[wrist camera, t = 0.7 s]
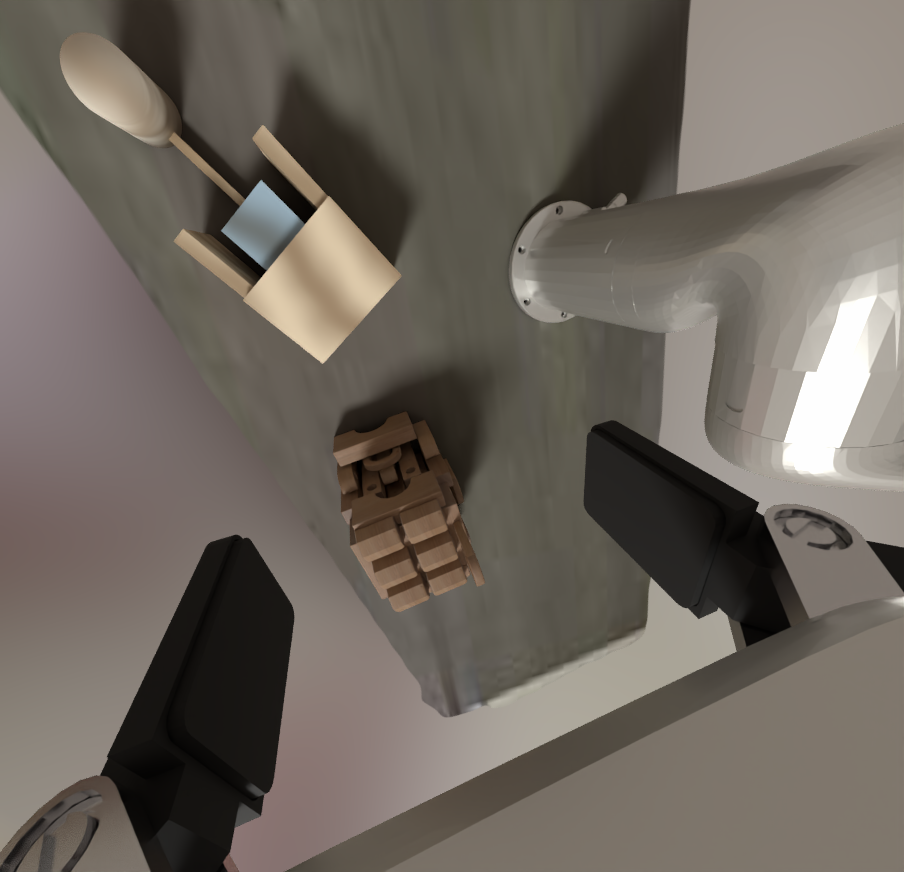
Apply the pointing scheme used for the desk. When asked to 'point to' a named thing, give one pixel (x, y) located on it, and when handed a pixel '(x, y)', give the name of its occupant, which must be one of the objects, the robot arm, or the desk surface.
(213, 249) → the birch shelf lane
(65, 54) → the block
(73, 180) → the desk surface
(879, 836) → the robot arm
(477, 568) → the wooden puzzle
